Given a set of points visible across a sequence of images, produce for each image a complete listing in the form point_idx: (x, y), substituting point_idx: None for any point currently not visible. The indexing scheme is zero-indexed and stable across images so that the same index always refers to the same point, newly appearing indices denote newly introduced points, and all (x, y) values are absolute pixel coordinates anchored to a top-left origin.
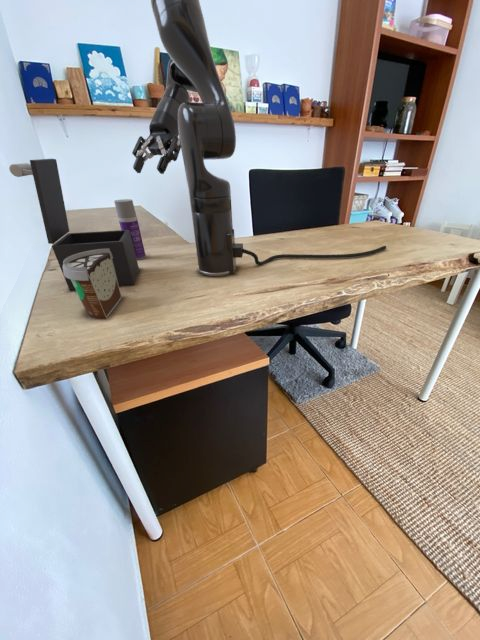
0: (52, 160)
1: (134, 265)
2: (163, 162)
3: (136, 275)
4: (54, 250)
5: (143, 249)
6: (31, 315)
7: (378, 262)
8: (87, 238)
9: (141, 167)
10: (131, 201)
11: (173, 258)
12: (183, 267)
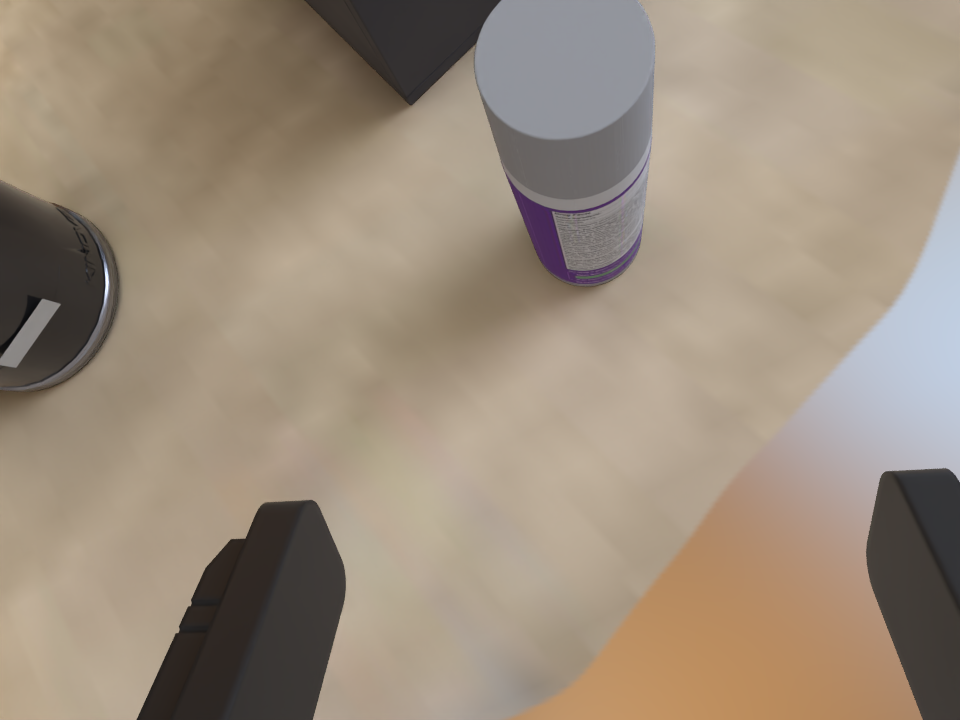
0: None
1: (323, 8)
2: (187, 642)
3: (332, 26)
4: None
5: (533, 244)
6: None
7: None
8: None
9: (912, 668)
10: (482, 96)
11: (373, 342)
12: (217, 250)
